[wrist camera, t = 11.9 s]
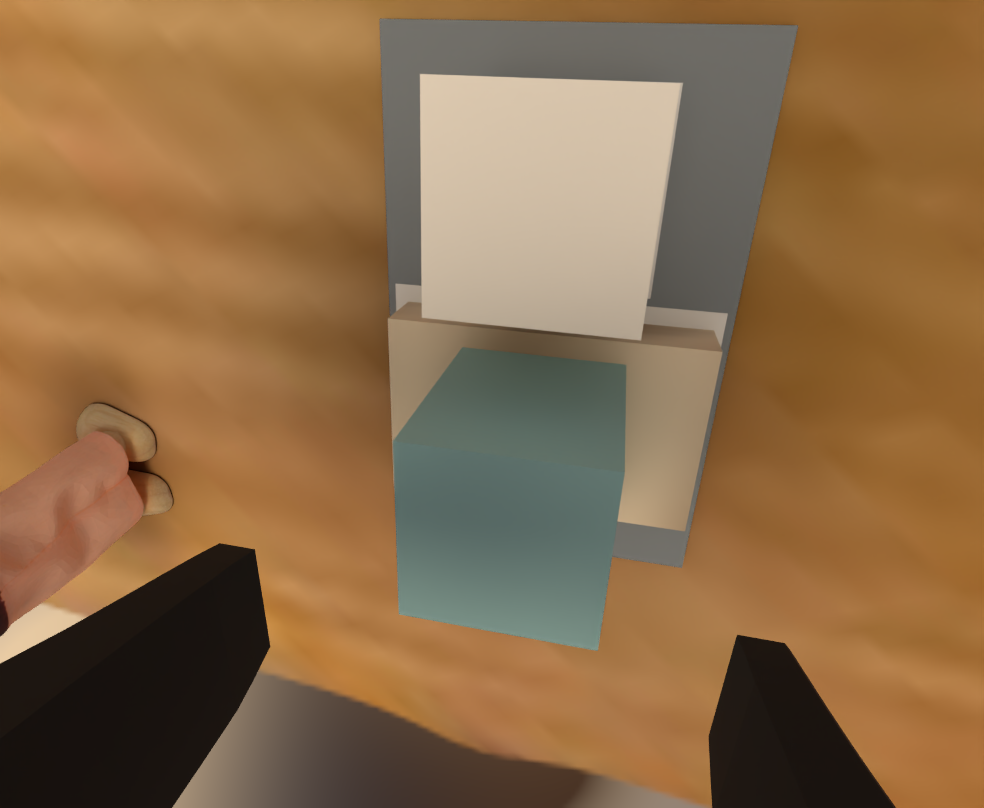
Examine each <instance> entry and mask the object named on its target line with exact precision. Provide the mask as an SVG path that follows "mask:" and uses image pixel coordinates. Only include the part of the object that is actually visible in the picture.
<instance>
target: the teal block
mask: <svg viewBox="0 0 984 808" xmlns="http://www.w3.org/2000/svg"><path fill="white" fill-rule="evenodd" d="M625 426H626V365H624V364H615V363H606V362H596V361H587V360H578V359H568V358H559V357H550V356H540V355H531V354H521V353H512V352H503V351H493V350H484V349H475V348H465V347H462V348H461V350H460V351H459V352H458V354H457V355H456V356H455V358H454V359H453V360H452V362H451V363H450V365H449V366H448V367H447V369H446V370H445V371H444V373H443V374H442V375H441V377H440V378H439V379H438V381H437V382H436V383H435V385H434V386H433V388H432V389H431V390H430V392H429V393H428V394H427V396H426V397H425V398H424V400H423V401H422V402H421V404H420V405H419V406H418V408H417V409H416V411H415V412H414V413H413V415H412V416H411V417H410V419H409V420H408V421H407V423H406V424H405V425H404V427H403V428H402V429H401V431H400V432H399V434H398V435H397V436H396V438H395V439H394V440H393V458H394V487H395V515H396V544H397V572H398V601H399V614H400V615H406V616H411V617H416V618H422V619H427V620H433V621H438V622H444V623H449V624H454V625H460V626H465V627H471V628H476V629H482V630H487V631H492V632H498V633H503V634H509V635H514V636H520V637H525V638H531V639H536V640H541V641H547V642H552V643H558V644H563V645H569V646H574V647H579V648H585V649H590V650H596V651H598V645H599V639H600V632H601V626H602V619H603V613H604V606H605V599H606V593H607V586H608V580H609V573H610V566H611V560H612V553H613V547H614V540H615V534H616V527H617V520H618V514H619V507H620V501H621V494H622V487H623V481H624V474H625Z"/></svg>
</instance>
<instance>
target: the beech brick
mask: <svg viewBox="0 0 984 808" xmlns="http://www.w3.org/2000/svg"><path fill="white" fill-rule="evenodd" d="M388 339H389V367H390V394H391V421H392V448H393V440H394V439H395V438H396V436H397V435H398V434H399V432H400V431H401V429H402V428H403V427H404V425H405V424H406V423H407V421H408V420H409V419H410V417H411V416H412V415H413V413H414V412H415V411H416V409H417V408H418V406H419V405H420V404H421V402H422V401H423V400H424V398H425V397H426V396H427V394H428V393H429V392H430V390H431V389H432V388H433V386H434V385H435V383H436V382H437V381H438V379H439V378H440V377H441V375H442V374H443V373H444V371H445V370H446V369H447V367H448V366H449V365H450V363H451V362H452V360H453V359H454V358H455V356H456V355H457V354H458V352H459V351H460V350H461V348H462V347H465V348H475V349H484V350H493V351H503V352H512V353H521V354H531V355H540V356H550V357H559V358H568V359H578V360H587V361H596V362H606V363H615V364H624V365H626V426H625V474H624V481H623V487H622V494H621V501H620V507H619V514H618V520H617V521H618V522H625V523H631V524H638V525H645V526H652V527H658V528H665V529H672V530H679V531H685V529H686V524H687V519H688V515H689V510H690V505H691V500H692V496H693V491H694V486H695V481H696V476H697V472H698V467H699V462H700V457H701V453H702V448H703V443H704V438H705V433H706V429H707V424H708V419H709V414H710V410H711V405H712V400H713V395H714V390H715V386H716V381H717V376H718V371H719V367H720V362H721V357H722V349H721V347H720V344H719V342H718V339H717V337H716V334H715V332H714V330H703V329H693V328H682V327H672V326H661V325H651V324H643V331H642V337H641V340H631V339H622V338H612V337H602V336H593V335H583V334H574V333H564V332H554V331H545V330H535V329H525V328H516V327H506V326H496V325H487V324H477V323H468V322H458V321H448V320H439V319H429V318H422V303H418V302H407V303H406V304H405V305H404V306H402V307H401V308H400V309H399V310H398V311H396V312H395V313H394V314H393V315H391V316H390V317H389V318H388ZM393 475H394V458H393ZM394 488H395V487H394Z"/></svg>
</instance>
